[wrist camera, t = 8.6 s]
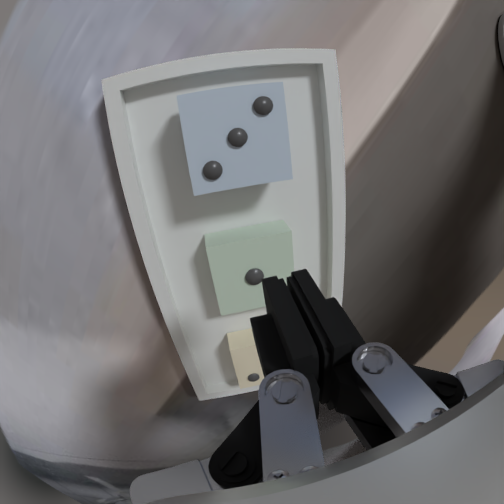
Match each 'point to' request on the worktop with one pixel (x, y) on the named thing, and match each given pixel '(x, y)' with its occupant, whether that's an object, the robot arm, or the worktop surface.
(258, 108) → the key three dots
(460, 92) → the worktop surface
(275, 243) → the key one dot
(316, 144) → the key panel
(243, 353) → the key two dots
